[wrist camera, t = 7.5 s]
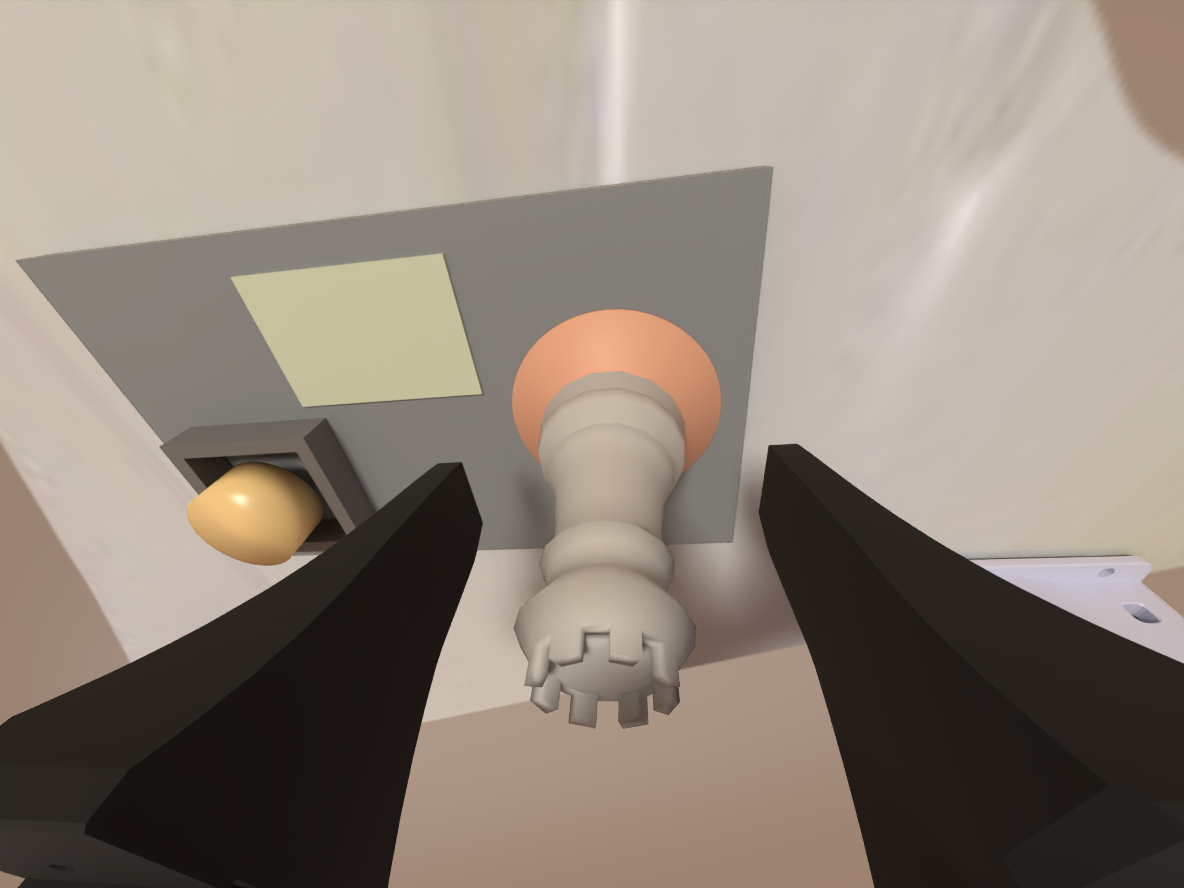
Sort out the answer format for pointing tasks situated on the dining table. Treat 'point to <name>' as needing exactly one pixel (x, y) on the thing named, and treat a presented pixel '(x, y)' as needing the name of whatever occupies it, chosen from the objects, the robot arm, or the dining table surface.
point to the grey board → (437, 342)
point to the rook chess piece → (608, 553)
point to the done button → (256, 513)
